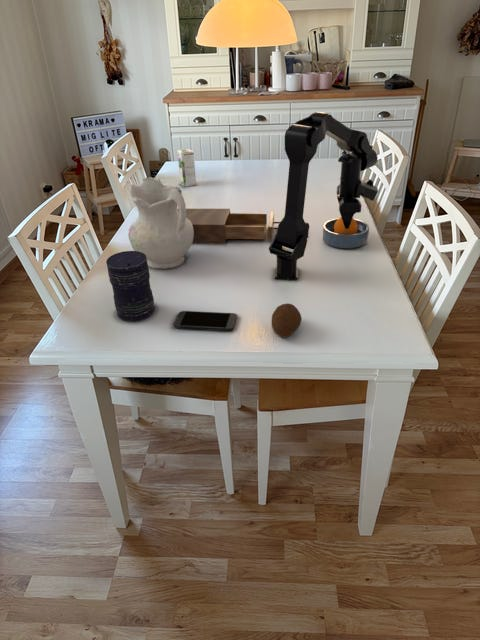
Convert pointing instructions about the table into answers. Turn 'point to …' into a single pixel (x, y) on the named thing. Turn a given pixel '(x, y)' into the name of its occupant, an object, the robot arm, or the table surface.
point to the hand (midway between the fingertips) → (346, 224)
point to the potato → (286, 320)
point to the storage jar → (131, 285)
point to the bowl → (345, 240)
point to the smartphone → (205, 320)
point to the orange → (340, 227)
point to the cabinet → (208, 225)
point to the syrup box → (186, 167)
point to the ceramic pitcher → (160, 224)
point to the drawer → (249, 226)
